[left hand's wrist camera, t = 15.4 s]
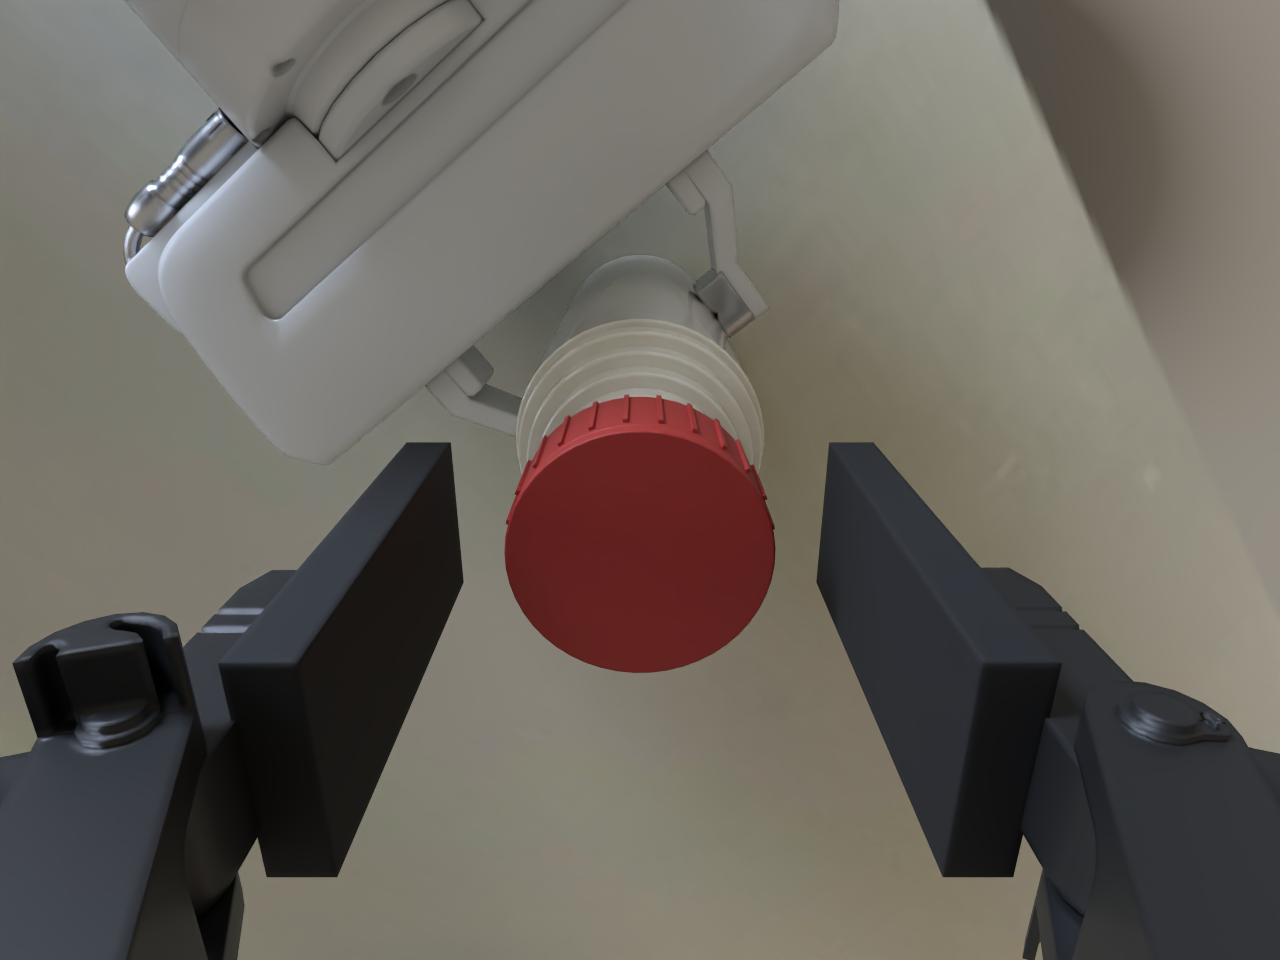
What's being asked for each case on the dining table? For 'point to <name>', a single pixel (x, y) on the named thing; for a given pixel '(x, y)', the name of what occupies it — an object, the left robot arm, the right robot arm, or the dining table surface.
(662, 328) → the bottle
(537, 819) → the dining table surface
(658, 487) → the cap
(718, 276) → the right robot arm
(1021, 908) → the dining table surface
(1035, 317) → the dining table surface
